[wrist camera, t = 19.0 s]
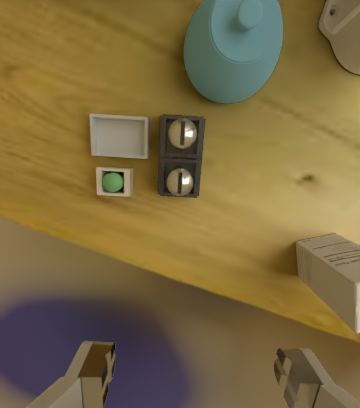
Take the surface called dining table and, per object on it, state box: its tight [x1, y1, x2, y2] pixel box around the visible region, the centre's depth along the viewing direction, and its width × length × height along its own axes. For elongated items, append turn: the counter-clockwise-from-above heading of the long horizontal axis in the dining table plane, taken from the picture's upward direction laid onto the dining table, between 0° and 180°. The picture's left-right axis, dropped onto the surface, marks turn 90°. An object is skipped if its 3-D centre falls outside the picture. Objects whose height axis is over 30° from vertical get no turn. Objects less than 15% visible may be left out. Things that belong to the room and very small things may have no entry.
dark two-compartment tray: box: [158, 114, 205, 198], centre depth 36 cm, size 14×8×4 cm, turn 177°
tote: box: [89, 114, 150, 159], centre depth 36 cm, size 7×10×2 cm
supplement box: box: [295, 233, 360, 333], centre depth 36 cm, size 9×9×15 cm
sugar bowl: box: [183, 0, 283, 104], centre depth 28 cm, size 15×15×12 cm
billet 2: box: [167, 166, 193, 196], centre depth 34 cm, size 4×4×8 cm
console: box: [96, 166, 133, 197], centre depth 37 cm, size 5×6×3 cm
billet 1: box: [169, 118, 197, 150], centre depth 32 cm, size 4×4×8 cm
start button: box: [102, 172, 124, 192], centre depth 36 cm, size 3×3×3 cm
